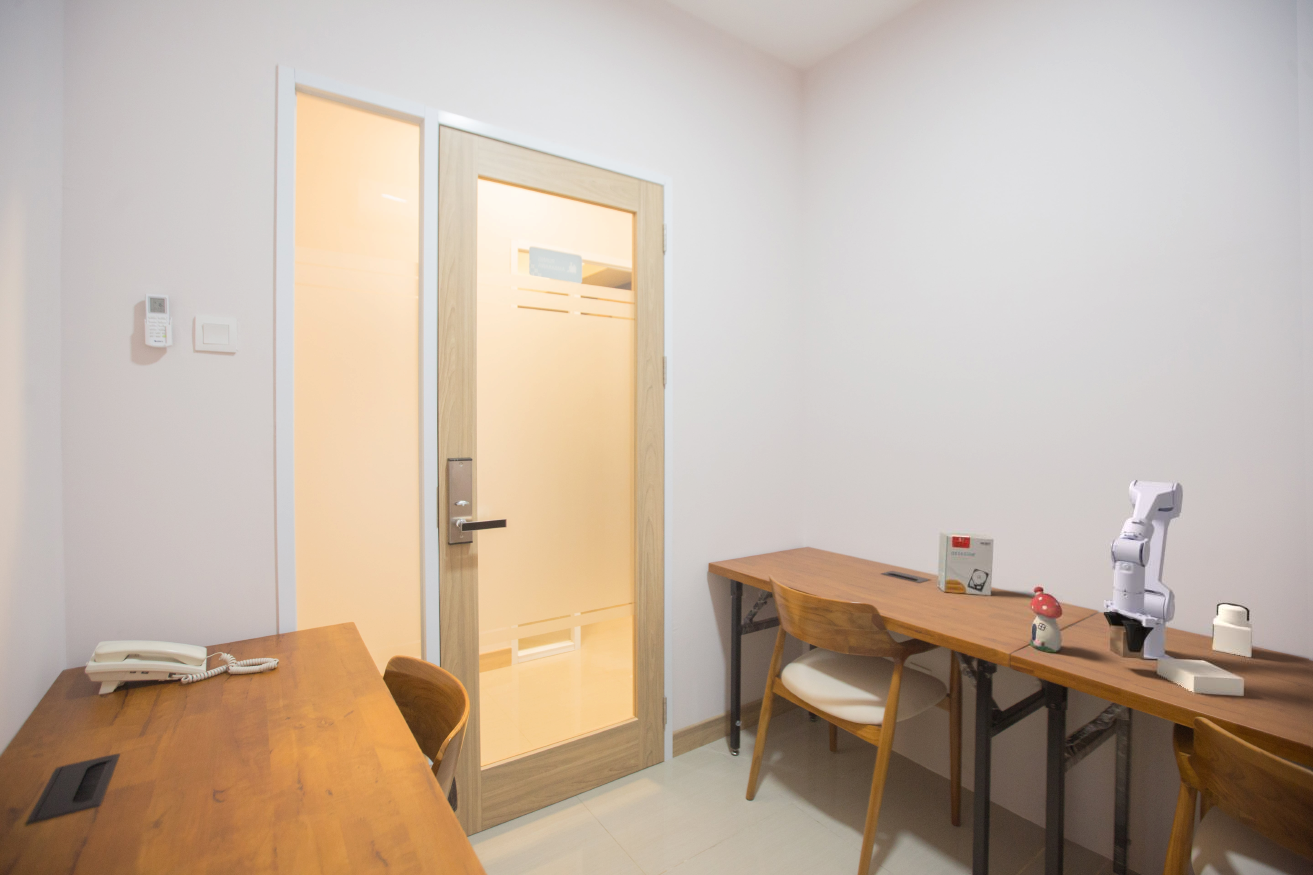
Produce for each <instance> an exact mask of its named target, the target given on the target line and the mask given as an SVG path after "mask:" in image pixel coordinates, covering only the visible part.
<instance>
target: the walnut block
mask: <svg viewBox="0 0 1313 875" xmlns="http://www.w3.org/2000/svg"><path fill="white" fill-rule="evenodd" d="M1109 632H1110V639H1109V650H1110V652H1112V653H1114V654H1115V655H1118V656H1119V657H1121V658H1124V659H1125V658H1126V659H1137V660H1139V659H1141V660H1144V659H1145V658H1144V644H1143V647H1142V649H1141V652H1140V653H1139V652H1130V651H1129V649H1128V643H1127V634H1126V630H1125V627H1124V626H1111V628H1110V631H1109Z"/></svg>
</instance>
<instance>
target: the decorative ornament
mask: <svg viewBox="0 0 1313 875" xmlns="http://www.w3.org/2000/svg"><path fill="white" fill-rule="evenodd" d="M1044 590H1045V589H1044V588H1043V587H1041V586H1036V587H1034V588H1033V593H1034V594H1035V596H1034V598H1032V600H1031V602H1030V604H1029V607H1030V609H1031V611H1032V612H1033V613H1034V614H1036V616H1035V619H1034V620H1033V622H1032V624H1031V629H1030V634H1031V638H1030V640H1029V644H1030V646H1031V647H1032V648H1033V649H1034V650H1038V651H1040V652H1046V653H1057V652H1059V650H1060V649H1061V647H1062V641H1063V640H1062V639H1063V637H1062V636H1063V635H1062V632H1061V629H1060V627H1059V624H1058V621H1057V619H1059V618H1061V616H1063V610H1062V606H1061V604H1060V602H1059V601H1058V599H1056V597H1054V596H1053V595H1052V594H1049V593H1044Z"/></svg>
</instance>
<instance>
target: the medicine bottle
mask: <svg viewBox="0 0 1313 875" xmlns="http://www.w3.org/2000/svg"><path fill="white" fill-rule="evenodd" d="M1252 642H1253V625H1252V624H1251V623H1250V609H1249V608H1248V607H1247V606H1244V605H1240V604H1237V603H1231V602H1220V603H1218V604H1216V617H1214V618H1213V622H1212V642H1211V643H1212V644H1211V648H1212V651H1216V652H1221V653H1225V654H1230V655H1231V654H1232V655H1234V654H1235V655H1236V656H1239V655H1240V657H1244V656H1245V658H1249V657H1250V658H1252V650H1253V647H1252V646H1253V643H1252ZM1235 655H1234V656H1235Z"/></svg>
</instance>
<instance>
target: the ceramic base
mask: <svg viewBox="0 0 1313 875" xmlns="http://www.w3.org/2000/svg"><path fill="white" fill-rule="evenodd" d="M1156 664H1157V665H1156V668H1157V670H1156V674H1157V675H1158V674H1159V675H1158V676H1160V675H1161V676H1160V677H1162V676H1163V677H1162V678H1164V677H1165V678H1164V679H1166V678H1167V679H1166V680H1168V679H1169V680H1168V681H1170V680H1171V681H1170V682H1172V681H1173V682H1172V683H1174V682H1175V683H1177V684H1178V685H1177V684H1176V685H1177V686H1179V685H1181V686H1182V687H1181V686H1180V687H1181V688H1183V687H1184V688H1183V689H1185V688H1186V689H1185V690H1187V689H1188V690H1187V691H1188V692H1190V691H1192V692H1193V693H1192V692H1191V693H1192V694H1202V693H1203V695H1205V694H1206V695H1218V696H1219V695H1221V696H1239V697H1243V696H1244V692H1245V690H1244V688H1245V678H1244V677H1241V676H1239V675H1237V674H1235V673H1233V672H1232V673H1231V672H1230V671H1228V670H1225V669H1223V668H1221V667H1220V666H1217V665H1215V664H1213V663H1210V662H1208V661H1206V660H1203V659H1201V660H1199V659H1185V658H1184V659H1182V658H1181V659H1180V658H1174V659H1164V658H1158V659H1157V663H1156ZM1175 683H1174V684H1175Z"/></svg>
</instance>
